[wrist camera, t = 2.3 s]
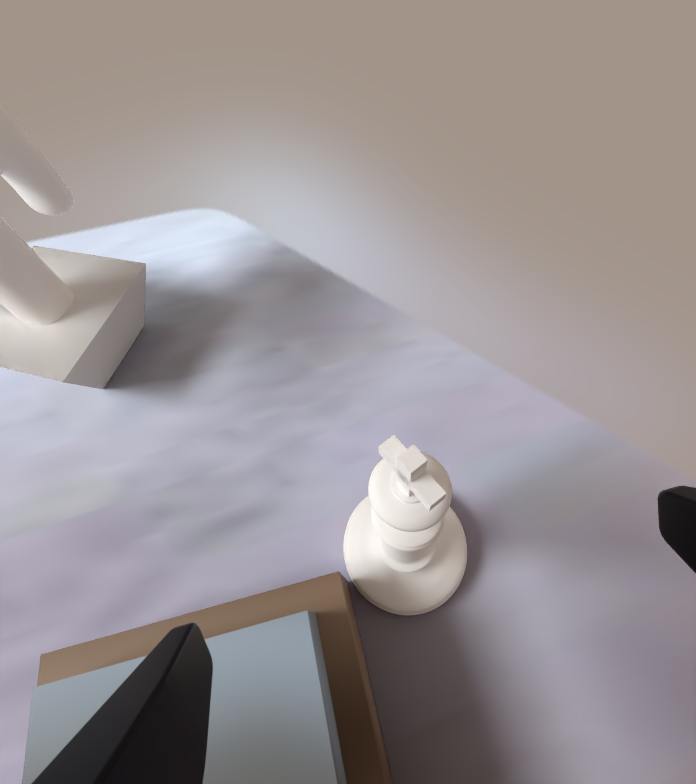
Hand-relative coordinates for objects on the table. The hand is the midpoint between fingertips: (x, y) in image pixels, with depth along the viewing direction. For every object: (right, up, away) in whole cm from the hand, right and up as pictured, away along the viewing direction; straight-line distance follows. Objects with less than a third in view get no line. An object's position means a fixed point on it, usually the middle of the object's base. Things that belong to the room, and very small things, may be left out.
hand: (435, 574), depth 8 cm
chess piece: (+1, -3, +9) cm, 10 cm away
